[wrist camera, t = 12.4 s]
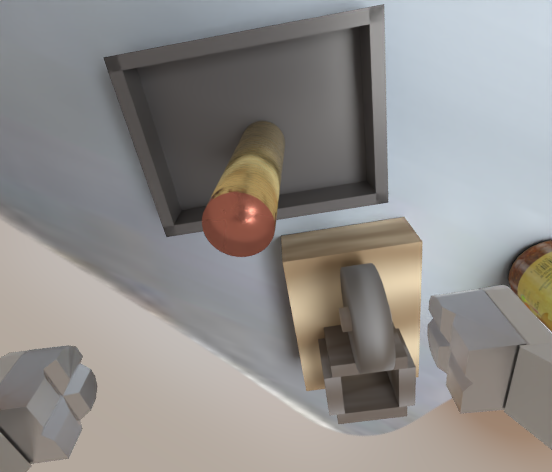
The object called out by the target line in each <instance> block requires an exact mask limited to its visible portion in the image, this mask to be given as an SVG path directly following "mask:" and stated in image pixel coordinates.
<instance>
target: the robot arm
mask: <svg viewBox="0 0 552 472" xmlns="http://www.w3.org/2000/svg"><path fill="white" fill-rule="evenodd" d="M429 311H430V313H431V315H432V317H433V319H432V320H431V322H430V323H429V324H428V341H429V347H430V350H431V353H432V356H433V359H434V361H435V363H436V365H437V367H438V368H439V369H441V370H442V371H444V372H445V373H447V381H446V386H447V388H448V390H449V392H450V394H451V396H452V398H453V400H454V402H455V404H456V406H457V408H458V410H459V412H460V413H471V412H483V411H493V410H504V412H505V413H506V414H508V415H509V416H510V417H511V418H513V419H514V420H515V421H516V422H518V423H519V424H520V425H521V426H523V427H524V428H525V429H526V430H528V431H529V432H530V433H532V434H533V435H534V436H535V437H536V438H538V439H539V440H540V441H542V442H543V443H544V444H545V445H547V446H548V447H549V448H550V449H551V450H552V334H551V333H550V331H549V330H548V329H547V328H546V327H545V326H544V325H543V324H542V323H541V322H540V320H539V319H538V318H537V317H536V316H535V315H534V314H533V313H532V312H531V311H530V310H529V308H528V307H527V306H526V305H525V304H524V303H523V302H522V301H521V300H520V299H519V298H518V296H517V295H516V294H515V293H514V292H513V291H512V290H511V289H510V288H509V287H507V286H505V285H498V286H492V287H485V288H479V289H474V290H467V291H460V292H453V293H446V294H439V295H433V296H431V298H430V300H429ZM82 357H83V356H82V354H81V353H80V352H79V350H78V349H77V347H75V346H61V347H52V348H43V349H34V350H29V351H21V352H11V353H8V354H6V355H4V356H3V357H1V358H0V472H27V471H28V470H29V468H30V467H31V464H34V463H41V462H48V461H55V460H62V459H68V458H69V456H70V454H71V452H72V450H73V448H74V446H75V444H76V442H77V439H78V437H79V435H80V433H81V431H82V425H81V422H80V420H81V419H82V418H83V417H84V416H85V415H86V414H87V413H88V412H89V411H91V408H92V406H93V404H94V402H95V399H96V392H97V382H96V378H95V375H94V374H93V372H92V370H91V369H89V368H88V367H86V366H84V365H82V364H81V360H82Z"/></svg>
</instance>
